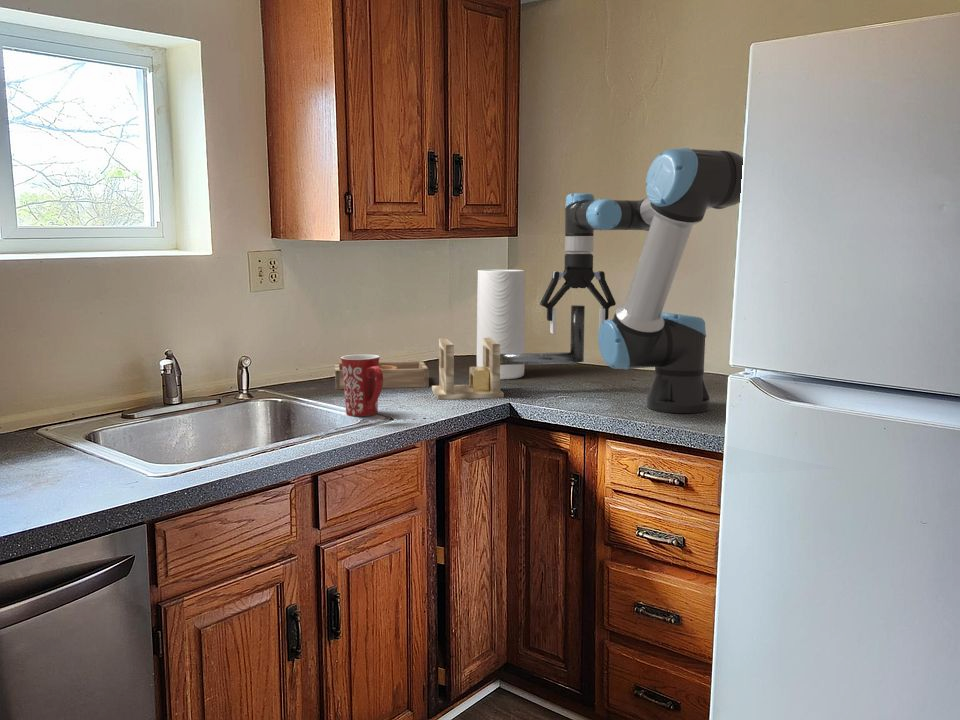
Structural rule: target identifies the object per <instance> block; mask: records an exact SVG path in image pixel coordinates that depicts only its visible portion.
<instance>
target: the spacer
mask: <svg viewBox="0 0 960 720" xmlns="http://www.w3.org/2000/svg"><path fill="white" fill-rule="evenodd" d="M469 385H470V388H473V391H489V370H488V369H487V368H486V367H484V366H478V367H477V366H469Z"/></svg>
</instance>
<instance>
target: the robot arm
mask: <svg viewBox="0 0 960 720" xmlns="http://www.w3.org/2000/svg"><path fill="white" fill-rule="evenodd" d="M743 158H744V157H743V156H741V155H740V154H738V153H736V152H733V151H729V150H717V149H716V150H715V149H714V150H713V149H695V148H689V147H680V148H669V149H667V150H664V151H662V152H661V153H659V154H658V155H657V156H656V157H655V158H654V159H653V161H652V162H651V164H650V166H649V169H648V170H647V174H646V178H645V185H646V187H645V193H646V196H647V197H645V198H643V199H640V200H626V199H625V200H623V199H610V198H598V199H595V195H593V193H588V192H587V193H586V192H581V193H569V194H567V195H566V197H565V207H564V213H565V214H564V217H565V218H564V219H565V221H564V222H565V223H564V224H565V225H564V227H565V228H564V235H565V236H564V237H565V238H564V252H566V253H565V254H564V268H563V269H564V270H563V272H560V271H556V270H555V271H552V276H551V280H550V282H549V284H548V287H547V288H546V290H545V292H544V294H543V297H542V298H541V300H540V302H539V305H540V306H542V307H543V308H546V319H547V321H550V322H549V323H550V324H549V328H550V329H549V332H550V333H551V334H552V335H553V334H556V331H557V330H556V327H557V325H556V323H557V321H556V320H557V314H556V313H557V309H555V308H554V307H555V306H556V305H557V304H558V303H559V301H560V300H561V299H562V297H563V296H564V295H565V294H566V292H568V291H569V290H570V289H586V288H587V289H588V290H589V291H590V293H591V294H592V296H594V298H595V299H596V300H597V302H598V303H599V304H600V306H601V307H599V310H598V311H599V313H598V314H599V315H598V316H599V317H598V333H597V334H598V335H597V341H598V348H599V352H600V355H601V357H602V359H603V361H604V362H605V364H606V365H607V366H608V367H610V368H612V369H614V370H615V369H617V370H619V369H620V370H621V369H622V370H629V369H643V368H644V369H645V368H655V369H654V378H653V380H652V383H651V386H650V388H649V391H648V394H647V396H646V408H648V409H649V410H654V411H656V412H662V413H672V414H697V413H698V414H700V413H705V412H708V411H709V410H710V409H711V400H710V395H709V392H708V389H707V385H706V382H705V378H704V377H705V376H704V375H705V354H706V351H705V350H706V337H707V333H706V322H705V320H704V319H703V318H702V317H700V316H695V315H694V316H693V315H687V314H680V313H678V314H677V313H671V312H663V310H664V307H665V304H666V301H667V299H668V296H669V293H670V291H671V288H672V284H673V282H674V279H675V276H676V274H677V270H678V268H679V265H680V263H681V260H682V257H683V255H684V254H683V253H684V251H685V248H686V246H687V243H688V240H689V239H690V238H689V237H690V234H691V231H692V229H693V226H694V225H697V224H699V223H700V222H702V221H703V219H704V217H705V214H706V212H707V210H708V209H714V210H722V209H725V208H729V207H733V206H736V205H738V204H739V203H741V202H740V193H741V179H742V165H743ZM595 231H646V232H647V235H646V238H645V240H644V241H645V242H644V243H643V248H642V250H641V253H640V256H639V260H638V263H637V265H636V268H635V271H634V275H633V277H632V281H631V283H630V287H629V290H628V293H627V296H626V299H625V301H624V302H625V303H622V304H620V305H619V306H617V307H616V310H615V313H614V315H613V318H612V319H609V314H610V313H609V311H610V310H609V309H610V308H611V307H615V306H616V304H617V303H616V300H615V298H614V296H613V294H612V291H611V289H610V288H609V285H608V283H607V281H606V275H605V274H606V273H605V272H604V271H603V270H601V271H600V270H599V271H595V272H594V255H593V254H592V253H593V252H594V236H595V235H594V233H595ZM562 278H563V279H564V280H565V281H564V283H563V284H562V286H561V287H560V288H559V290H558V291H557V292H556V293H555V294H554V296H553V297H552V295H553V293H554V291H555V289H556V287H557V284H558V283H559V281H560V280H561V279H562ZM594 278H595V279H596V280H597V281H598V283H599V286H600V287H601V290H602V292H603V294H604V296H605V298H606V299H605V298H604V296H602V294H601V293H600V291H599V290H598V289H597V288H596V286H595V285H594V284H593V282H592V281H593V279H594ZM551 297H552V298H551Z"/></svg>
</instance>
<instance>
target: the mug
mask: <svg viewBox="0 0 960 720" xmlns="http://www.w3.org/2000/svg"><path fill="white" fill-rule="evenodd" d="M380 358H381V356H380V355H378V354H377V355H376V354H363V353H362V354H350V355H349V354H347V355H343V356H341V357H340V360H341V363H342V369H343V381H344V389H343V390H344V391H343V393H344V399H345V400H344V403H345V413H346V415H347V416H349V417H369V416H370V417H371V416H375V415H377V414H378V410H379V409H378V408H379V407H378V405H379V404H378V401H379V397H380V395H381V392H382V390H383V388H382V386H383V373H382V370H381V369H380V368H379V362H380Z"/></svg>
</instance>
